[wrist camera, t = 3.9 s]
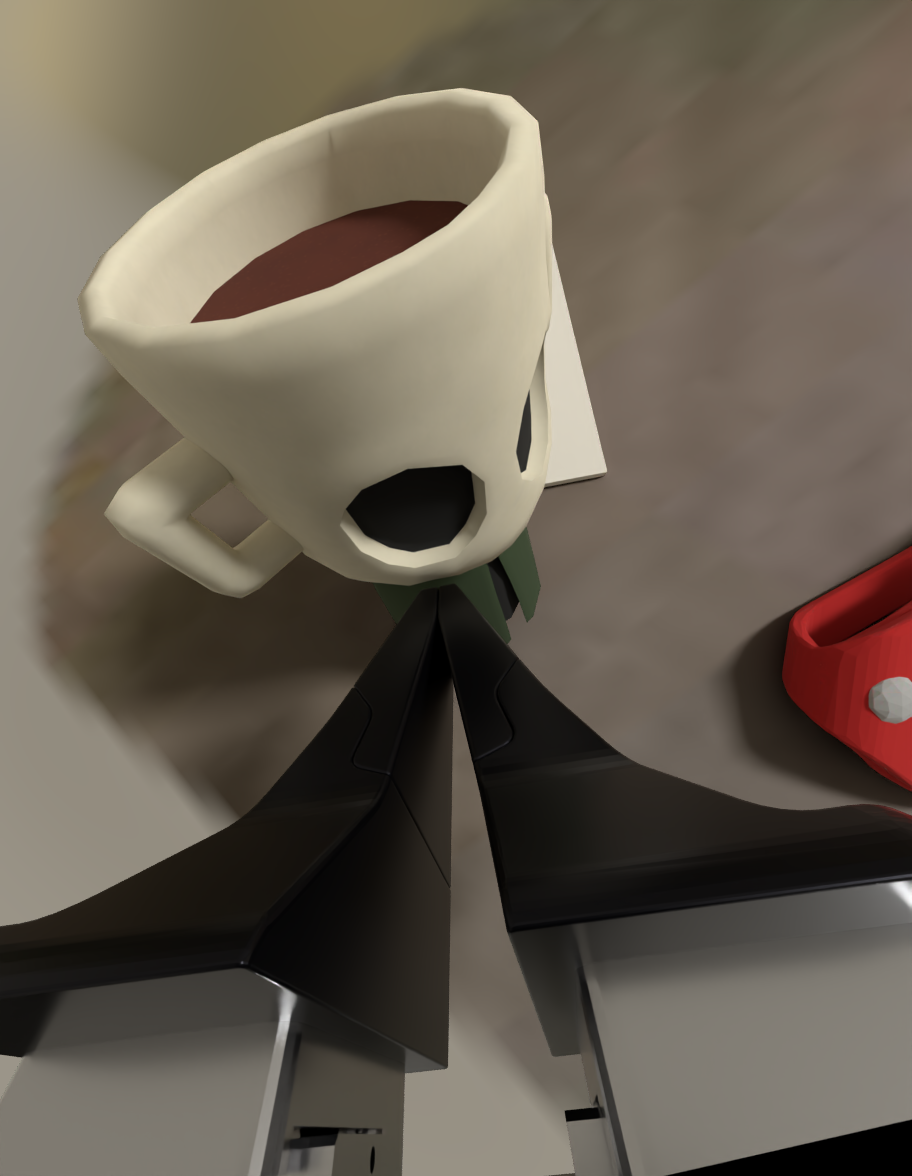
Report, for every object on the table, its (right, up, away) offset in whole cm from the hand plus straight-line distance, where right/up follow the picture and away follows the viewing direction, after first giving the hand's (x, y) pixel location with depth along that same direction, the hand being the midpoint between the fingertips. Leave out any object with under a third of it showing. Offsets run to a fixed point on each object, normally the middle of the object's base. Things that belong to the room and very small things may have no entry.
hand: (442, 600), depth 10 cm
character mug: (+1, 0, +8) cm, 8 cm away
